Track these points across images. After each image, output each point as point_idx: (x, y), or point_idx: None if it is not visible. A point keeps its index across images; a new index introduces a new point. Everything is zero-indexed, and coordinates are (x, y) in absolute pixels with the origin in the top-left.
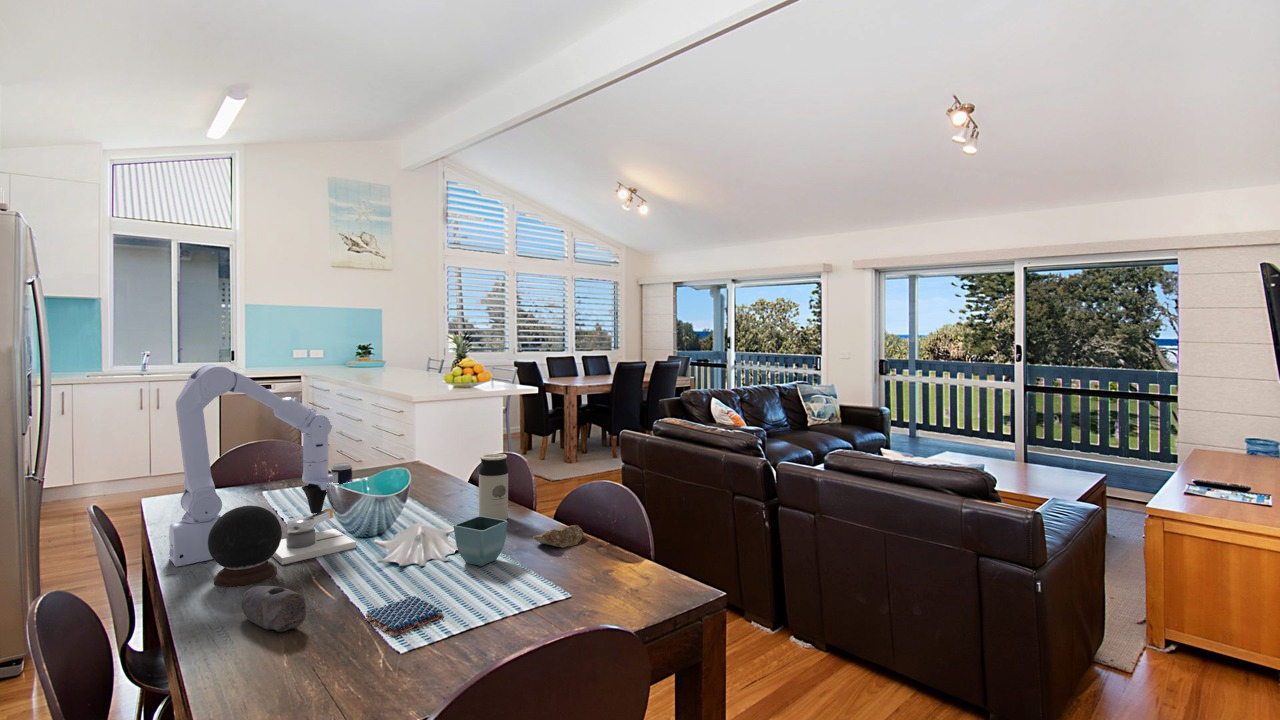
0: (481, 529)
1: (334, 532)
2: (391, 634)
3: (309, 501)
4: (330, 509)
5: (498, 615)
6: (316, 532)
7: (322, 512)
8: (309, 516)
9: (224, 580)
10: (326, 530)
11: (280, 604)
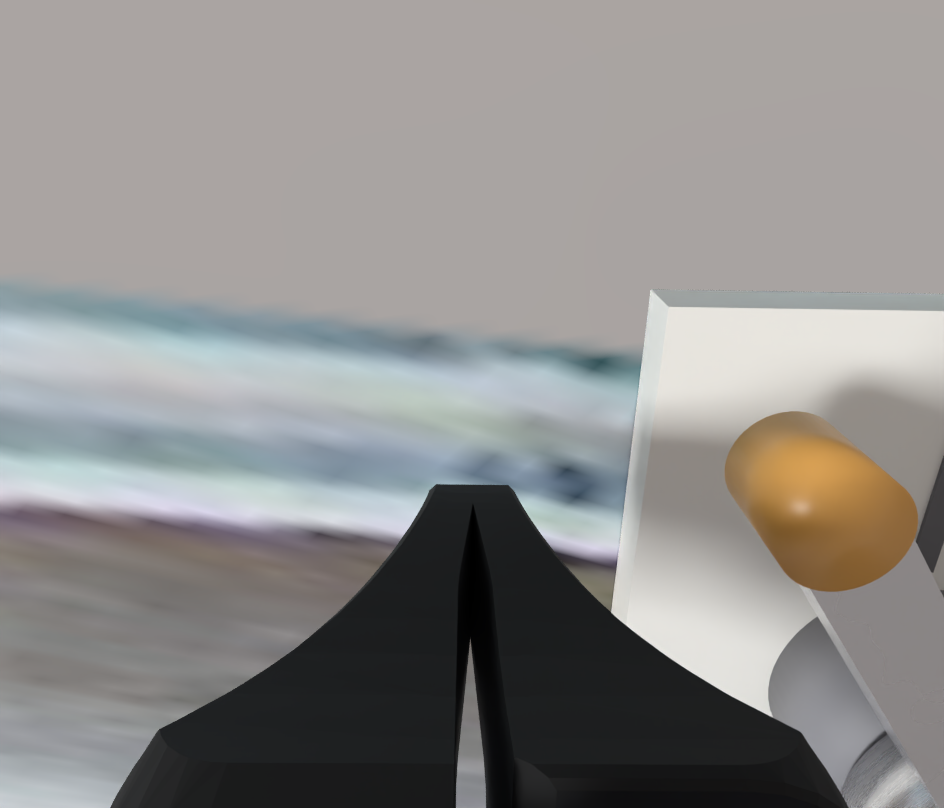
0: None
1: (817, 362)
2: None
3: (456, 760)
4: (868, 512)
5: None
6: (651, 490)
7: (906, 638)
8: (936, 795)
9: None
10: (670, 397)
11: None
